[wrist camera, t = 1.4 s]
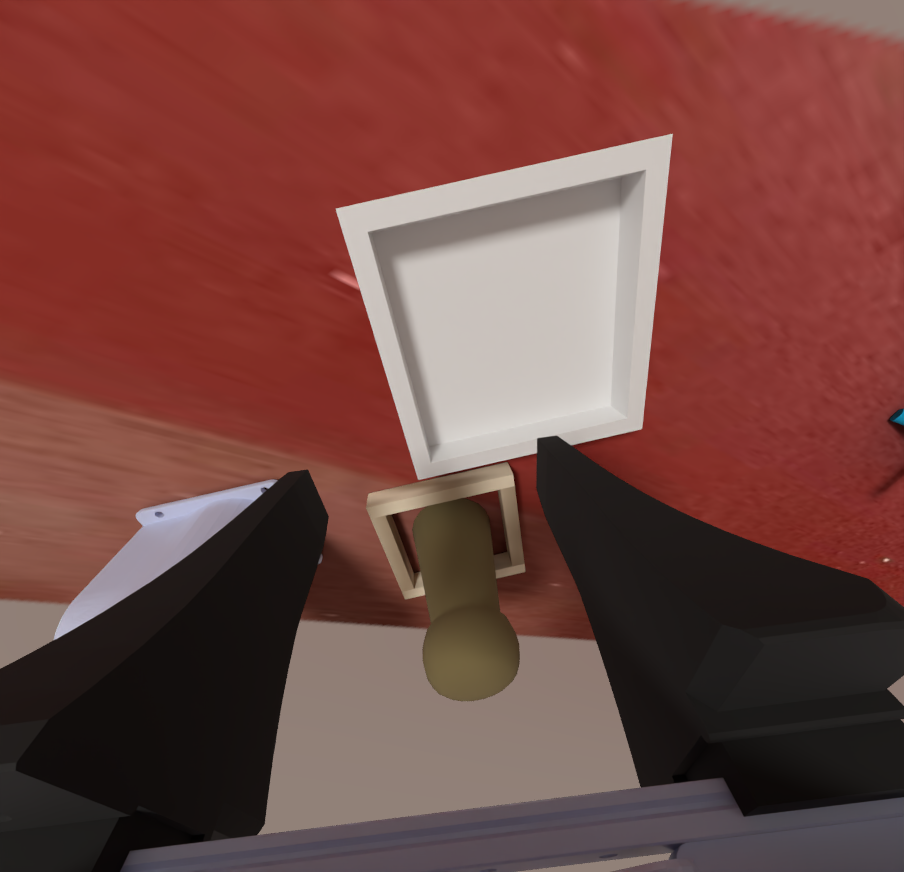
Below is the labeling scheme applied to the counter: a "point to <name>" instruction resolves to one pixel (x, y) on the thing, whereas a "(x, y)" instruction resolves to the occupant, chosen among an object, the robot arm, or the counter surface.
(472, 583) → the cork
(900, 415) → the gear
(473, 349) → the tray
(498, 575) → the collar
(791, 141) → the counter surface
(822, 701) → the robot arm
